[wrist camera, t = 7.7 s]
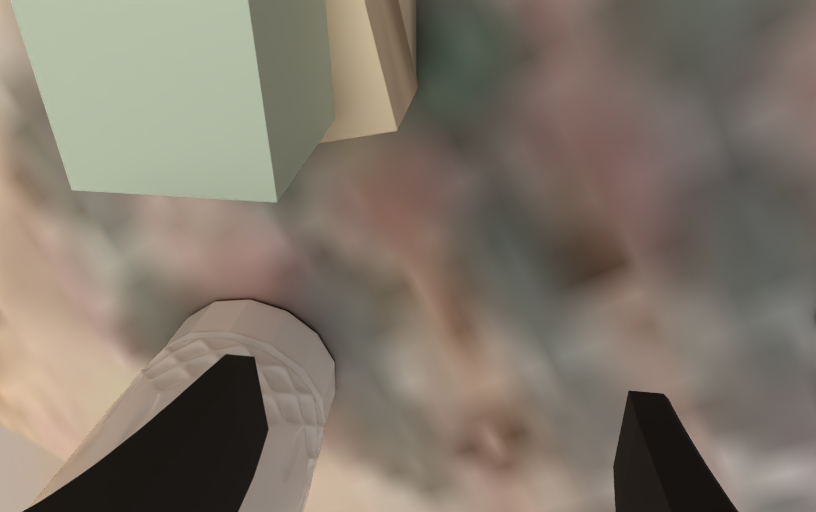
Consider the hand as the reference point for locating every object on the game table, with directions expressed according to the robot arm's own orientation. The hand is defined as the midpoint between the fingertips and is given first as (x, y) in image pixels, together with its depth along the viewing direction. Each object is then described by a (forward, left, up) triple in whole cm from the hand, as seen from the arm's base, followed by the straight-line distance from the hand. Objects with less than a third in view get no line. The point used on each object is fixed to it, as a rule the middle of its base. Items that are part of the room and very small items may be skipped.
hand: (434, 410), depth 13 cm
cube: (+5, -6, -5) cm, 9 cm away
